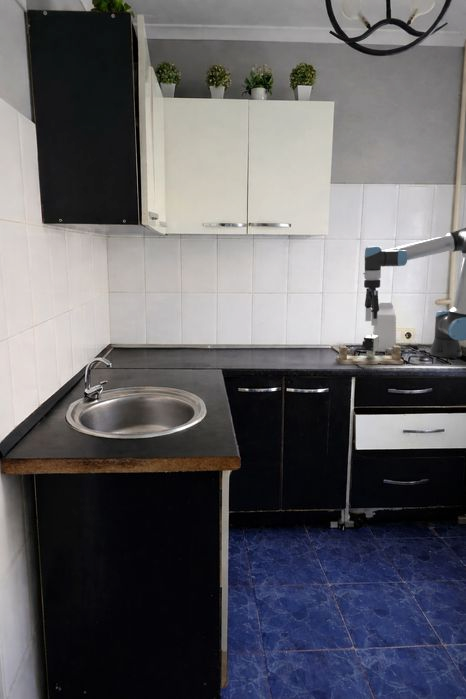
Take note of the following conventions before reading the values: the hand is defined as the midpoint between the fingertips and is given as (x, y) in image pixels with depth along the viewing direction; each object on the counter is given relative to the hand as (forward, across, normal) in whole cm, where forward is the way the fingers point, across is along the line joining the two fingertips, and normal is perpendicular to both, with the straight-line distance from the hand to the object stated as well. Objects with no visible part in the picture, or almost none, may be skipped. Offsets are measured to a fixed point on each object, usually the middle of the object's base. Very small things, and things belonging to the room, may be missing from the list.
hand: (371, 323), depth 250 cm
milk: (+20, -29, +14) cm, 37 cm away
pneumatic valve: (+18, 0, 0) cm, 18 cm away
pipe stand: (+19, 0, 0) cm, 19 cm away
